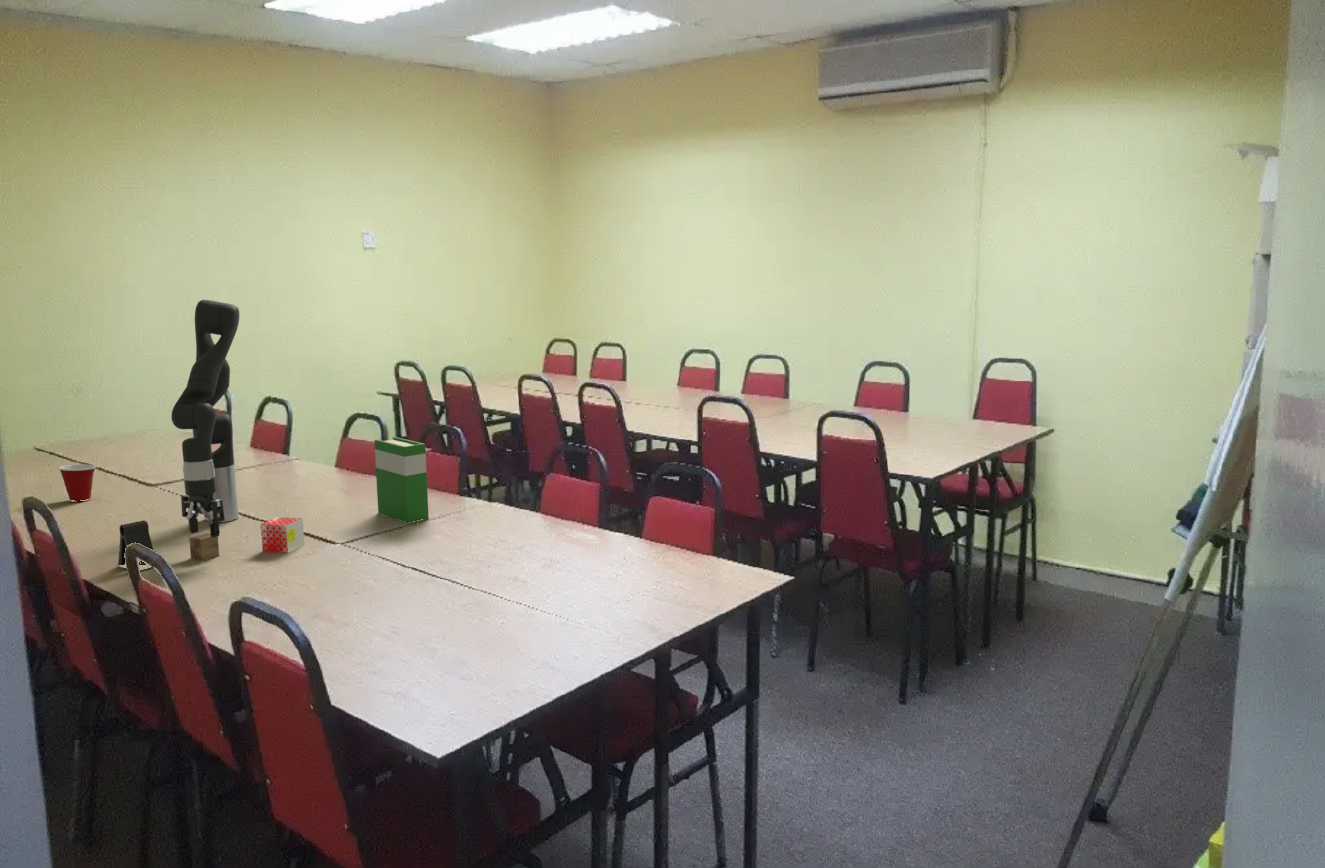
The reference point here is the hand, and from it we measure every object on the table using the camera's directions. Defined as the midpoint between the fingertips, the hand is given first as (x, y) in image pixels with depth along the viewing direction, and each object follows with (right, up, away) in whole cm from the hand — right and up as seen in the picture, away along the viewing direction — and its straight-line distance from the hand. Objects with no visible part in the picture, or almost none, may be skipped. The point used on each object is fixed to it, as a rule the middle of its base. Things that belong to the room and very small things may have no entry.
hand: (204, 534), depth 256 cm
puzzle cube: (+18, -5, +10) cm, 21 cm away
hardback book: (+42, +1, +44) cm, 61 cm away
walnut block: (-1, -6, +1) cm, 6 cm away
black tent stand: (-14, -8, -7) cm, 18 cm away
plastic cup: (-72, +5, +63) cm, 96 cm away
